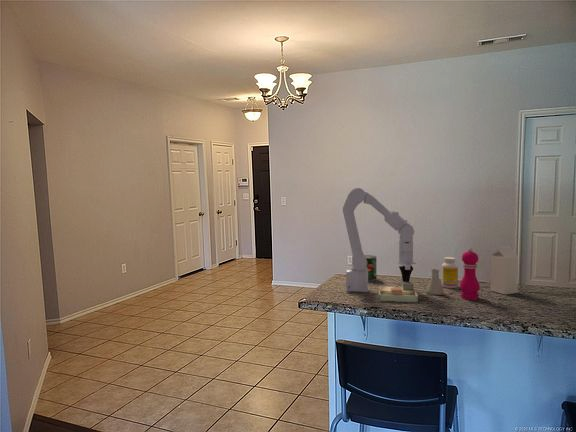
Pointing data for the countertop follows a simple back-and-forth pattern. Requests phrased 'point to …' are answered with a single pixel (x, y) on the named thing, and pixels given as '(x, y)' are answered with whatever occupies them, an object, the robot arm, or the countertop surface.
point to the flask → (435, 284)
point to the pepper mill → (469, 276)
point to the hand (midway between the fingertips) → (405, 283)
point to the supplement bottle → (449, 273)
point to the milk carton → (504, 271)
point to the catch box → (399, 298)
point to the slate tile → (407, 285)
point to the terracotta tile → (396, 291)
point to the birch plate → (387, 290)
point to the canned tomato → (371, 267)
